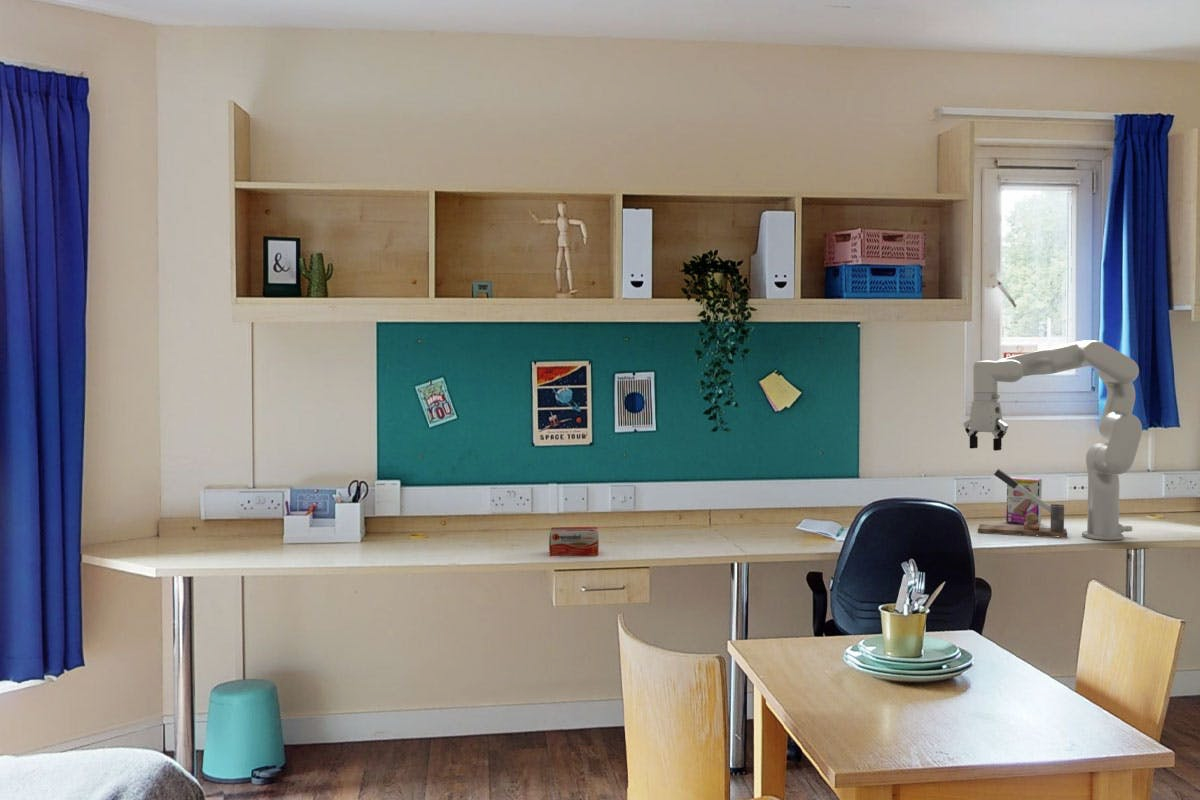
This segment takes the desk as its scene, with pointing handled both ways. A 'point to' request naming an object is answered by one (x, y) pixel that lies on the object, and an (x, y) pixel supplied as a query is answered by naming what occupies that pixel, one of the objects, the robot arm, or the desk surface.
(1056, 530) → the press base
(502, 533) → the desk surface
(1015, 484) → the lever
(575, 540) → the medicine box
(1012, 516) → the candy bar box
